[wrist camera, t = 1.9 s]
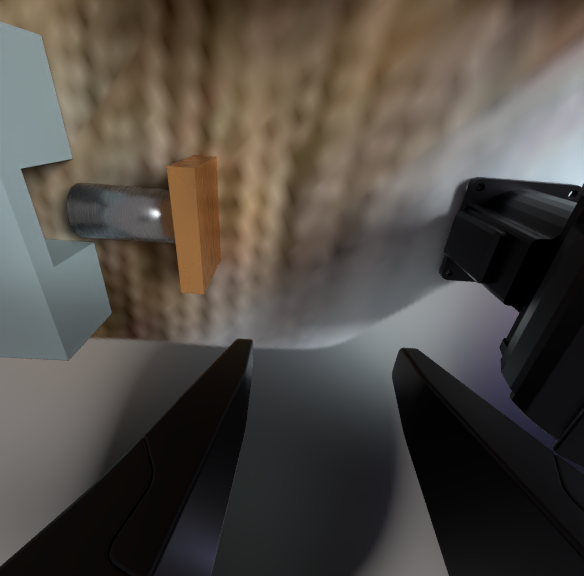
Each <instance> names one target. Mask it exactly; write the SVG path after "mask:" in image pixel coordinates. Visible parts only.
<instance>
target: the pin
mask: <svg viewBox="0 0 584 576" xmlns="http://www.w3.org/2000/svg"><path fill="white" fill-rule="evenodd" d="M167 174H168V183H169V189H159V188H145V187H132V186H118V185H105V184H91V183H77V184H75V185H74V186H73V187H72V188H71V190H70V192H69V194H68V197H67V205H66V208H67V216H68V219H69V222H70V224H71V226H72V228H73V230H74V231H75V232H76V233H77V234H78V235H80V236H81V237H85V238H99V239H114V240H129V241H144V242H159V243H173V244H176V251H177V259H178V268H179V276H180V285H181V293H192V294H204V293H205V291H206V289H207V287H208V285H209V283H210V281H211V279H212V277H213V275H214V273H215V271H216V269H217V267H218V265H219V263H220V261H221V252H220V229H219V206H218V183H217V160H216V157H213V156H200V155H194V156H191V157H189V158H186V159H183V160H181V161H178V162H176V163H173V164H170V165H168V166H167Z"/></svg>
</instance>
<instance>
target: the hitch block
mask: <svg viewBox="0 0 584 576" xmlns="http://www.w3.org/2000/svg"><path fill="white" fill-rule="evenodd" d="M69 159H72V155H71V151H70V147H69V143H68V139H67V135H66V131H65V127H64V123H63V120H62V116H61V112H60V108H59V104H58V100H57V96H56V92H55V88H54V84H53V80H52V76H51V72H50V69H49V65H48V61H47V57H46V53H45V49H44V45H43V41H42V37H41V35H39V34H36V33H33V32H30V31H27V30H24V29H21V28H17V27H14V26H11V25H8V24H5V23H2V22H0V357H10V358H30V359H47V360H48V359H49V360H66V361H68V360H69V359H70V358H71V357H72V356H73V355H74V354H75V353H76V352H77V351H78V350H79V349H80V348H81V346H82V345H83V344H84V343H85V342H86V341H87V340H88V339H89V338H90V337H91V336H92V334H93V333H94V332H95V331H96V330H97V329H98V328H99V327H100V326H101V325H102V324H103V322H104V321H105V320H106V319H107V318H108V317H109V316H110V315H111V314H112V311H111V308H110V304H109V300H108V296H107V292H106V288H105V284H104V280H103V276H102V272H101V268H100V264H99V261H98V257H97V253H96V249H95V245H94V242H82V241H67V240H52V239H44V237H43V234H42V231H41V228H40V225H39V222H38V219H37V216H36V213H35V210H34V207H33V204H32V201H31V198H30V195H29V192H28V189H27V186H26V183H25V180H24V177H23V174H22V171H21V169H22V168H27V167H32V166H38V165H43V164H48V163H53V162H59V161H64V160H69Z"/></svg>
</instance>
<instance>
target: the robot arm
mask: <svg viewBox="0 0 584 576" xmlns="http://www.w3.org/2000/svg"><path fill="white" fill-rule="evenodd" d="M479 183H481V187H480V189H478V190H476V186H477V185H478V184H479ZM571 191H572V194H571V195H570V196H569V197H568V195H569V193H570V192H571ZM444 252H445V256H444V259H443V261H442V264H441V267H440V270H439V274H440V276H441V277H442V278H444V279H445V280H455V281H471V282H477V283H481V284H482V285H483V286H484V287H485V288H487V289H488V290H489V291H490V292H491V293H492V294H493V295H495V296H496V297H497V298H498V299H499V300H500V301H501V302H503V303H504V304H505V305H508V306H512V307H514V308H515V309H516V310H517V311H518V312H519V315H518V317H517V319H516V321H515V323H514V325H513V327H512V328H511V330H510V332H509V334H508V336H507V338H504V339H503V341H502V343H501V345H500V351H501V353H502V358H501V372H502V374H503V376H504V378H505V380H506V382H507V383H508V385H509V387H510V389H511V390H512V392H511V393H510V398H511V400H512V401H513V403H514V404H515V405H516V406H517V407H518V408H519V409H520V410H521V411H522V412H523V413H524V414H525V415H526V416H527V417H528V418H529V419H530V420H531V421H533V422H534V423H535V424H537V425H538V426H539V427H540V428H541V429H542V430H544V431H545V432H546V433H547V434H549V435H550V436H552V437H553V438H554V439H556V440H557V442H556V443H555V444H554V445H553V449H554V451H555V452H556V453H557V454H559V455H560V456H562V457H564V458H567V459H569V460H571V461H573V462H575V463H577V464H579V465H581V466H583V467H584V184H583V186H582V188H581V187H580V186H577V185H573V184H562V183H550V182H537V181H524V180H511V179H499V178H486V177H476V178H474V179H473V180H472V181H471V182H470V183H469V185H468V188H467V191H466V194H465V197H464V200H463V203H462V206H461V209H460V212H459V213H458V214H457V215H456V217H455V220H454V223H453V226H452V229H451V232H450V235H449V238H448V241H447V244H446V247H445V249H444ZM448 270H451V271H450V273H448V274H446V272H447V271H448ZM252 371H253V341H252V340H251V339H237V340H235V341H234V342H233V344H232V345H231V346H230V347H229V348H228V349H227V350H226V351H225V352H224V353H223V354H222V355H221V356H220V357H219V358H218V359H217V360H216V361H215V362H214V363H213V364H212V365H211V366H210V367H209V368H208V370H206V371H205V373H204V374H203V375H202V376H201V377H200V378H199V379H198V380H197V381H196V382H195V383H194V384H193V385H192V386H191V387H190V388H189V389H188V390H187V391H186V392H185V393H184V394H183V395H182V396H181V397H180V398H179V399H178V400H177V401H176V402H175V403H174V405H172V406H171V407H170V409H169V410H168V411H167V412H166V413H165V414H164V415H163V416H162V417H161V418H160V419H159V420H158V421H157V422H156V423H155V424H154V425H153V426H152V427H151V428H150V429H149V430H148V431H147V432H146V433H145V434H144V438H140V439H139V440H138V441H137V442H136V443H135V444H134V445H133V446H132V447H131V449H130V450H129V451H128V452H127V453H126V454H125V455H124V456H123V457H122V458H121V459H120V460H118V461H117V463H116V464H114V465H113V466H112V467H111V468H110V469H109V470H108V471H107V472H106V473H105V474H104V475H103V477H101V478H100V479H99V480H98V481H97V482H96V483H95V484H93V485H92V486H91V487H90V488H89V489H88V490H87V491H86V492H85V493H84V494H82V495H81V496H80V497H79V498H78V499H77V500H76V501H75V502H74V503H73V504H71V505H70V506H69V507H68V508H67V509H66V510H65V511H64V512H62V513H61V514H60V515H59V516H58V517H57V518H55V519H54V520H53V521H52V522H51V523H50V524H48V525H47V527H45V528H44V529H43V530H42V531H40V532H39V533H38V534H37V535H36V536H35V537H34V538H32V539H31V540H30V541H29V542H28V543H27V544H26V545H24V547H22V548H21V549H20V550H19V551H18V552H17V553H15V554H14V555H13V556H12V557H11V558H10V559H8V560H7V561H6V562H5V563H4V564H3V565H2V566H0V576H211V573H212V569H213V564H214V560H215V556H216V552H217V548H218V543H219V539H220V535H221V530H222V527H223V522H224V518H225V514H226V510H227V505H228V501H229V497H230V493H231V489H232V484H233V480H234V476H235V472H236V468H237V463H238V459H239V455H240V451H241V446H242V442H243V438H244V434H245V428H246V423H247V415H248V407H249V398H250V388H251V380H252ZM392 379H393V385H394V389H395V394H396V399H397V404H398V409H399V414H400V418H401V424H402V428H403V432H404V436H405V440H406V443H407V446H408V450H409V453H410V456H411V459H412V462H413V465H414V468H415V471H416V474H417V478H418V481H419V484H420V487H421V490H422V493H423V496H424V499H425V502H426V506H427V509H428V512H429V515H430V518H431V521H432V525H433V528H434V531H435V534H436V537H437V540H438V543H439V546H440V549H441V553H442V555H443V559H444V562H445V565H446V568H447V571H448V574H449V576H584V475H583V474H582V473H580V472H579V471H578V470H576V469H575V468H574V467H572V466H571V465H569V464H568V463H567V462H566V461H564V460H563V459H562V458H560V457H559V456H558V455H554V453H553V452H552V451H551V450H550V449H548V448H547V447H546V446H544V445H543V444H542V443H541V442H539V441H538V440H537V439H535V438H534V437H532V436H531V435H530V434H529V433H527V432H526V431H524V430H523V429H522V428H521V427H519V426H518V425H517V424H515V423H514V422H513V421H511V420H510V419H509V418H508V417H506V416H505V415H503V414H502V413H501V412H500V411H498V410H497V409H496V408H494V407H493V406H492V405H490V404H489V403H488V402H486V401H485V400H484V399H482V398H481V397H480V396H478V395H477V394H476V393H475V392H473V391H472V390H470V389H469V388H468V387H467V386H465V385H464V384H463V383H461V382H460V381H459V380H458V379H456V378H455V377H453V376H452V375H451V374H450V373H448V372H447V371H445V370H444V369H443V368H442V367H440V366H439V365H438V364H436V363H435V362H434V361H432V360H431V359H430V358H429V357H427V356H426V355H425V354H423V353H422V352H421V351H419V350H418V349H415V348H401V349H400V350H399V352H398V355H397V358H396V361H395V364H394V368H393V372H392Z"/></svg>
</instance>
